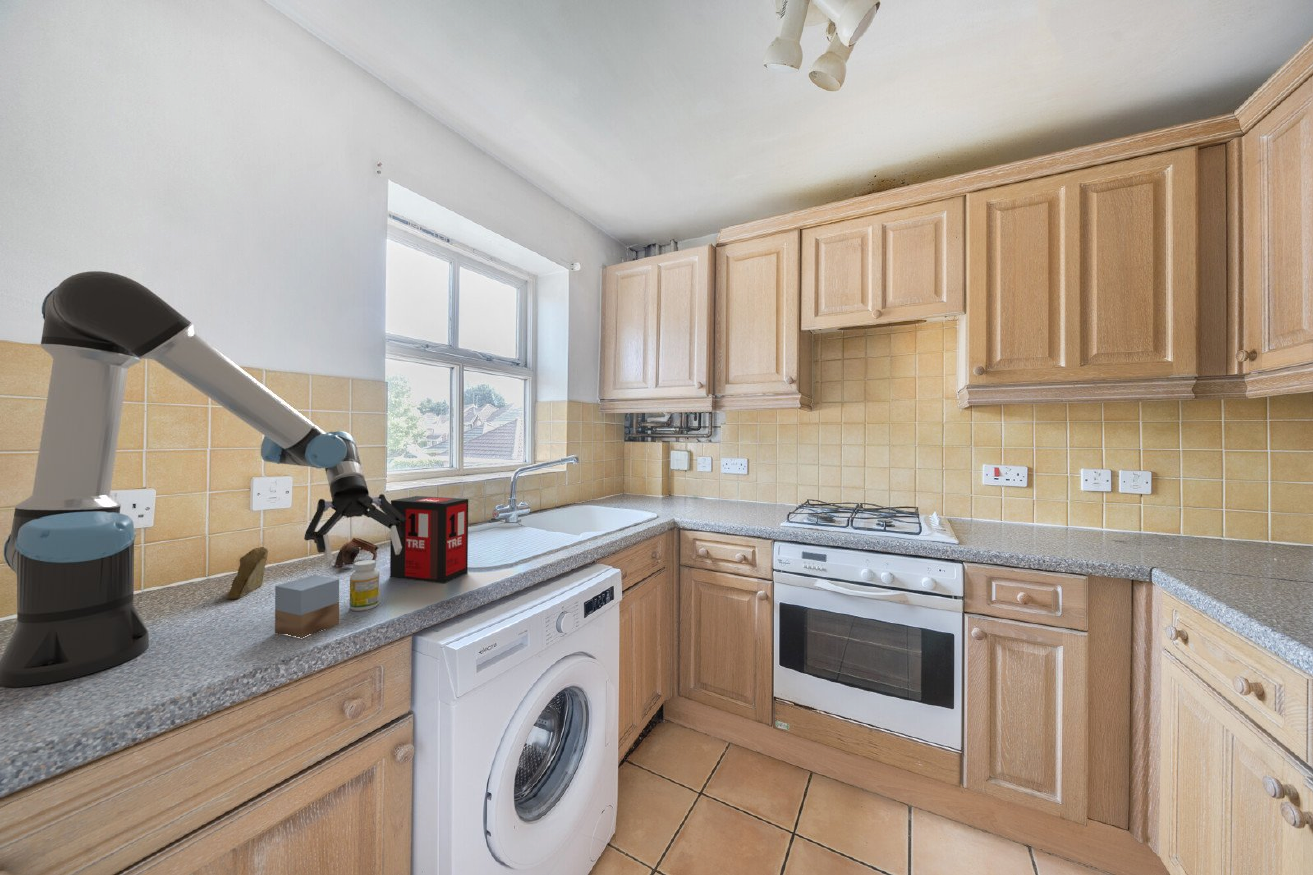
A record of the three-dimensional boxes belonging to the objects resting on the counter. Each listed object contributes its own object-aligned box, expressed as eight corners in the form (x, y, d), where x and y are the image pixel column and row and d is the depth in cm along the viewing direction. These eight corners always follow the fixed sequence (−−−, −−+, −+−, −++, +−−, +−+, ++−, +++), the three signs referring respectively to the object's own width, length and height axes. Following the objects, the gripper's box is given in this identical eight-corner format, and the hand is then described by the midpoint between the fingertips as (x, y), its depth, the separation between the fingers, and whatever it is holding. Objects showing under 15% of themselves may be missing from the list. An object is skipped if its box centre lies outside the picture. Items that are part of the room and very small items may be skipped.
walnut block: (301, 640, 83) (301, 615, 83) (274, 634, 85) (275, 610, 85) (338, 624, 89) (339, 601, 89) (313, 619, 92) (313, 597, 92)
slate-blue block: (300, 615, 83) (301, 590, 83) (275, 609, 85) (275, 585, 85) (338, 602, 89) (339, 579, 89) (314, 597, 92) (314, 574, 92)
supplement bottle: (375, 609, 97) (375, 564, 97) (345, 612, 95) (346, 566, 95) (381, 600, 102) (382, 558, 102) (353, 603, 100) (354, 559, 100)
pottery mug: (337, 562, 133) (354, 535, 136) (369, 575, 135) (385, 548, 137) (323, 562, 122) (342, 533, 125) (358, 576, 124) (376, 547, 126)
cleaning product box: (390, 577, 118) (390, 500, 118) (416, 567, 127) (416, 495, 127) (444, 583, 114) (445, 503, 114) (467, 573, 123) (468, 498, 123)
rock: (244, 591, 100) (286, 571, 110) (219, 560, 100) (264, 543, 110) (215, 616, 102) (259, 595, 112) (190, 586, 102) (236, 567, 112)
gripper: (398, 489, 124) (419, 555, 114) (281, 498, 105) (293, 578, 96) (406, 471, 120) (428, 538, 110) (285, 477, 102) (299, 558, 92)
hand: (366, 557), depth 103 cm, fingers open, 13 cm apart
